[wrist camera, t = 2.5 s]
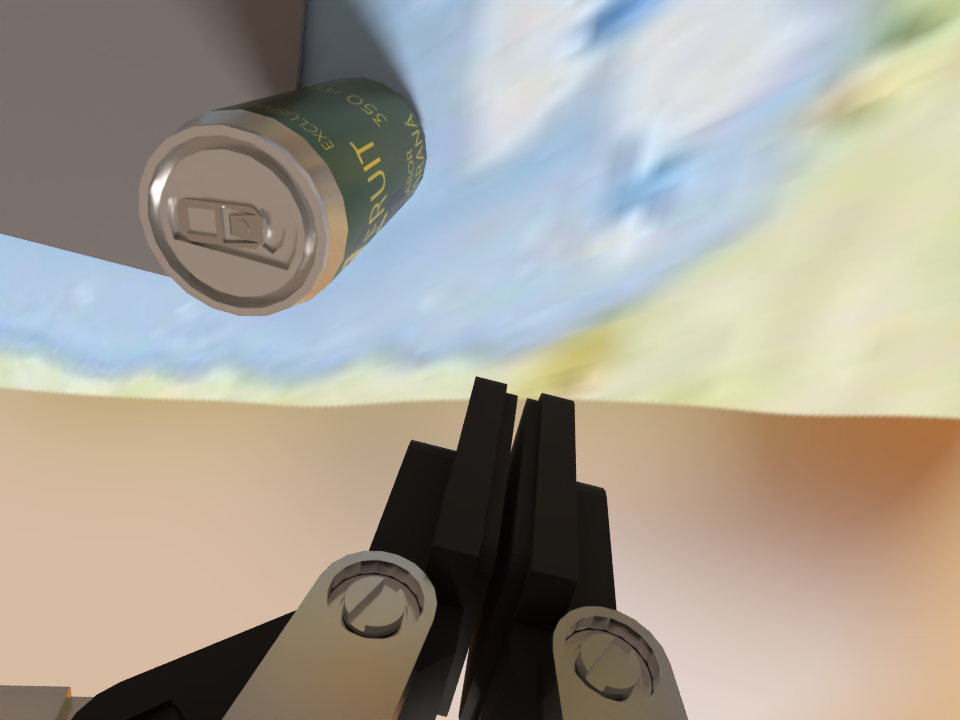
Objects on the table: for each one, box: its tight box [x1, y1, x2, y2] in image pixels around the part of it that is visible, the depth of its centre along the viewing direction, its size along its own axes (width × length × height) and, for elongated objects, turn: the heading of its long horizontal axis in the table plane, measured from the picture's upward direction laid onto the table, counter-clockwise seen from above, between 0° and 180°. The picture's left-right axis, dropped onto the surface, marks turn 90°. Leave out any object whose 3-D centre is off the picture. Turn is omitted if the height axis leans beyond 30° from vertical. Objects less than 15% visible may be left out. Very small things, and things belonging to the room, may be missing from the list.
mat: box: [0, 0, 306, 277], centre depth 27 cm, size 14×16×1 cm
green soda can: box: [139, 78, 427, 316], centre depth 22 cm, size 5×5×12 cm
